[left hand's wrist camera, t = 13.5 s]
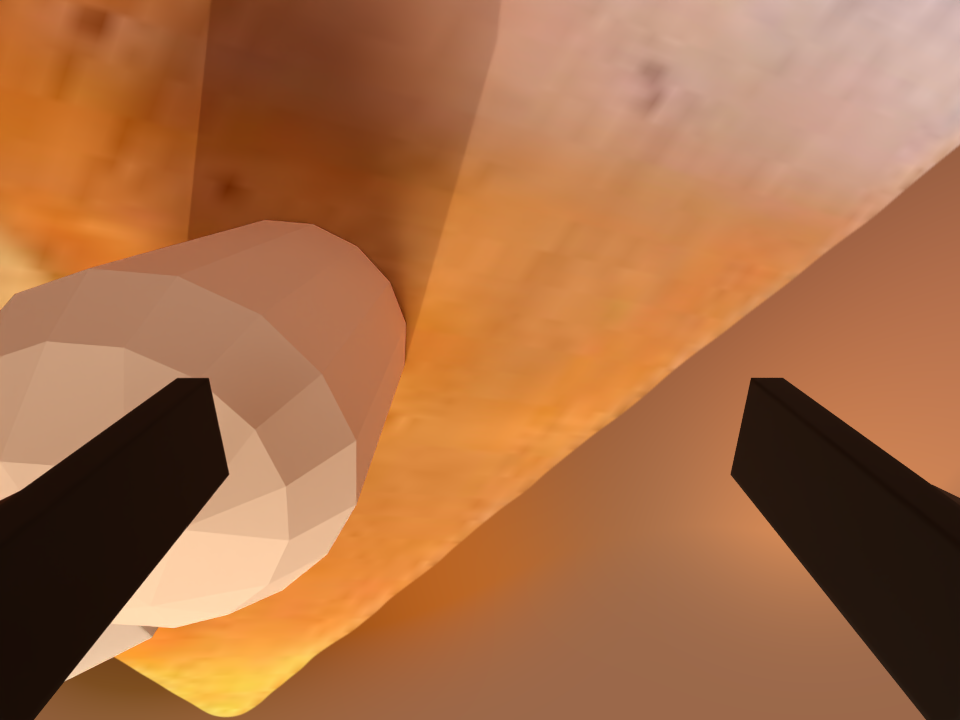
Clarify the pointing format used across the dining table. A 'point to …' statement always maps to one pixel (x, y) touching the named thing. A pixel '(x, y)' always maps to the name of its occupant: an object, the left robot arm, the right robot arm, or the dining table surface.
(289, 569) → the container
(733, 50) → the dining table surface
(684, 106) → the dining table surface
